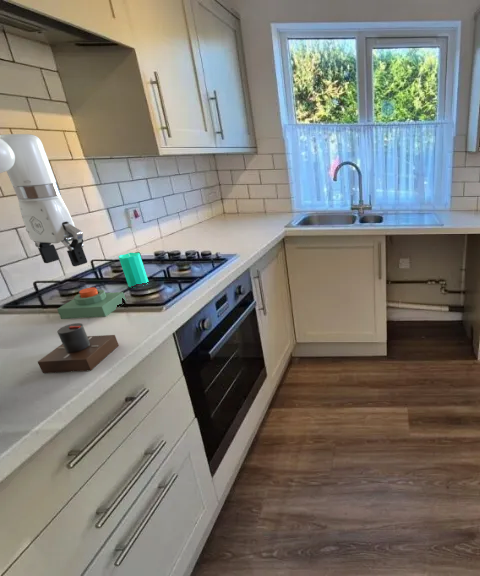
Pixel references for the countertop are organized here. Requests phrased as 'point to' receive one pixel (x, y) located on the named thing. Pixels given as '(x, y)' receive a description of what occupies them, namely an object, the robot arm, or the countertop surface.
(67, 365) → the brown dial base
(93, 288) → the orange push button
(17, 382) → the countertop surface
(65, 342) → the dial
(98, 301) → the green button box
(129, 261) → the candle
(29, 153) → the robot arm
